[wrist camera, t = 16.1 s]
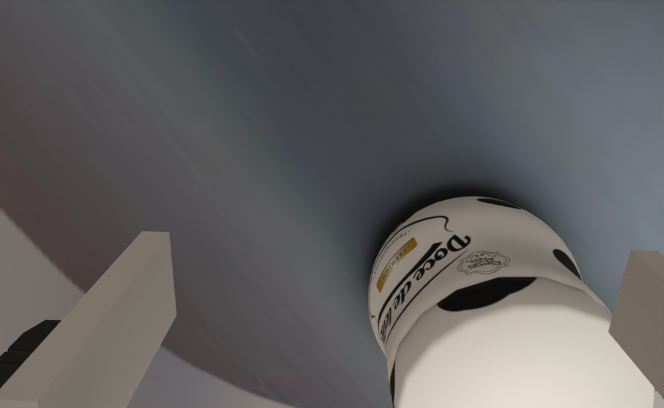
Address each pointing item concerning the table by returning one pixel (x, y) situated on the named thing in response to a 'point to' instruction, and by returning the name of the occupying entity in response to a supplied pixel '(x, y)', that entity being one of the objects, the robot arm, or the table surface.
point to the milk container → (493, 315)
